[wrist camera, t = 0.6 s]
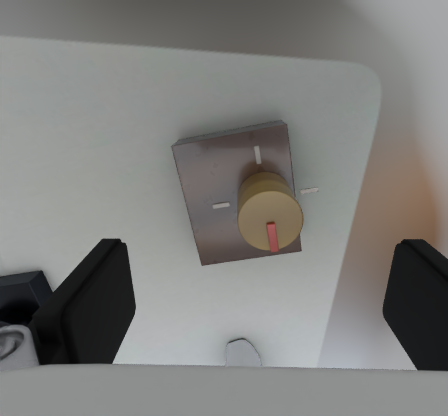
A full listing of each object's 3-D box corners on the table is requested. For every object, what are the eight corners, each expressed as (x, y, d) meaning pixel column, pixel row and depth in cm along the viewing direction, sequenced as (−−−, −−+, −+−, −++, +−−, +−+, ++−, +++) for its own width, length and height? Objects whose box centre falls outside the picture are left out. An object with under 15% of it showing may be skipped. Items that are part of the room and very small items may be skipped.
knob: (233, 176, 24) (231, 198, 20) (288, 167, 24) (300, 186, 19) (242, 226, 26) (243, 257, 21) (294, 218, 25) (307, 247, 21)
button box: (-26, 280, 33) (-60, 304, 29) (42, 270, 32) (16, 293, 28) (21, 362, 37) (-3, 392, 33) (82, 354, 36) (64, 385, 32)
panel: (178, 139, 26) (170, 146, 23) (303, 115, 25) (311, 119, 22) (204, 249, 30) (201, 267, 27) (314, 233, 29) (323, 249, 26)
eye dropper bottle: (222, 371, 36) (216, 497, 25) (227, 335, 34) (222, 455, 23) (259, 375, 36) (269, 503, 25) (266, 339, 34) (280, 461, 23)
